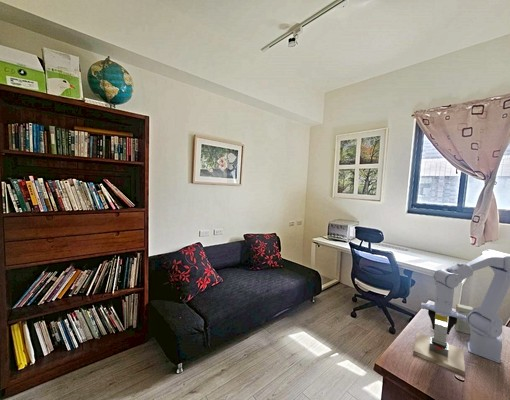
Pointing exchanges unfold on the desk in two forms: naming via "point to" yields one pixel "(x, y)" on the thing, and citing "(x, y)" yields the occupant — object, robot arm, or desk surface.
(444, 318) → the supplement bottle
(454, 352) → the stand base
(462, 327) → the skincare box
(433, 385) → the desk surface
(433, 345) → the sleeve
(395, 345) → the desk surface
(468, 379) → the desk surface
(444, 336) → the column
